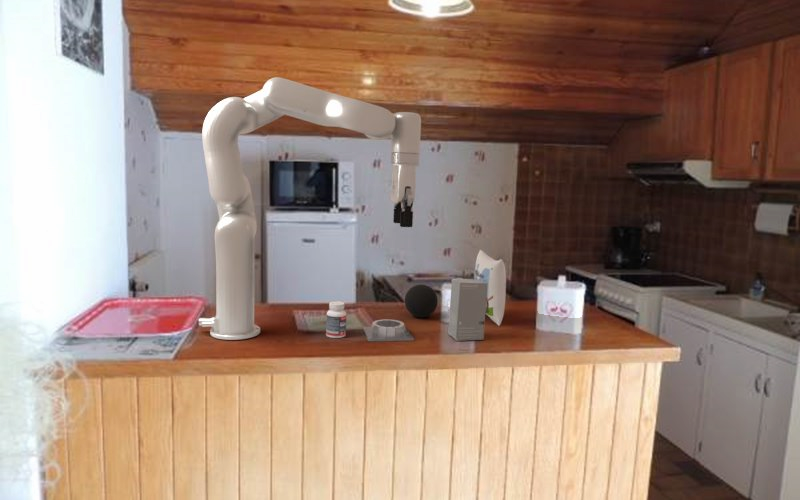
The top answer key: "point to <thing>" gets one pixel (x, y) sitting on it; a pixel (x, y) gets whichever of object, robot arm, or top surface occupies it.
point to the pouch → (492, 284)
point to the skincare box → (467, 309)
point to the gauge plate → (388, 331)
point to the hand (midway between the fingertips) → (402, 224)
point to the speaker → (421, 301)
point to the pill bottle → (336, 320)
